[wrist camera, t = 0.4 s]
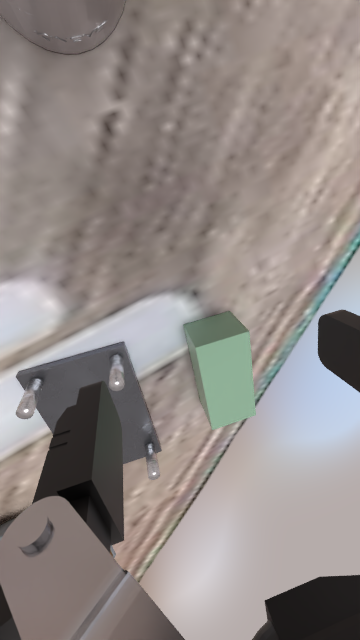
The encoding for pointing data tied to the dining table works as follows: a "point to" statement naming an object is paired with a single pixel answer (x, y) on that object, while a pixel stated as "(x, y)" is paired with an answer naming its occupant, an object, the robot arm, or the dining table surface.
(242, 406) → the board
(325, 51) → the dining table surface
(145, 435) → the chassis
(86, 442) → the robot arm
